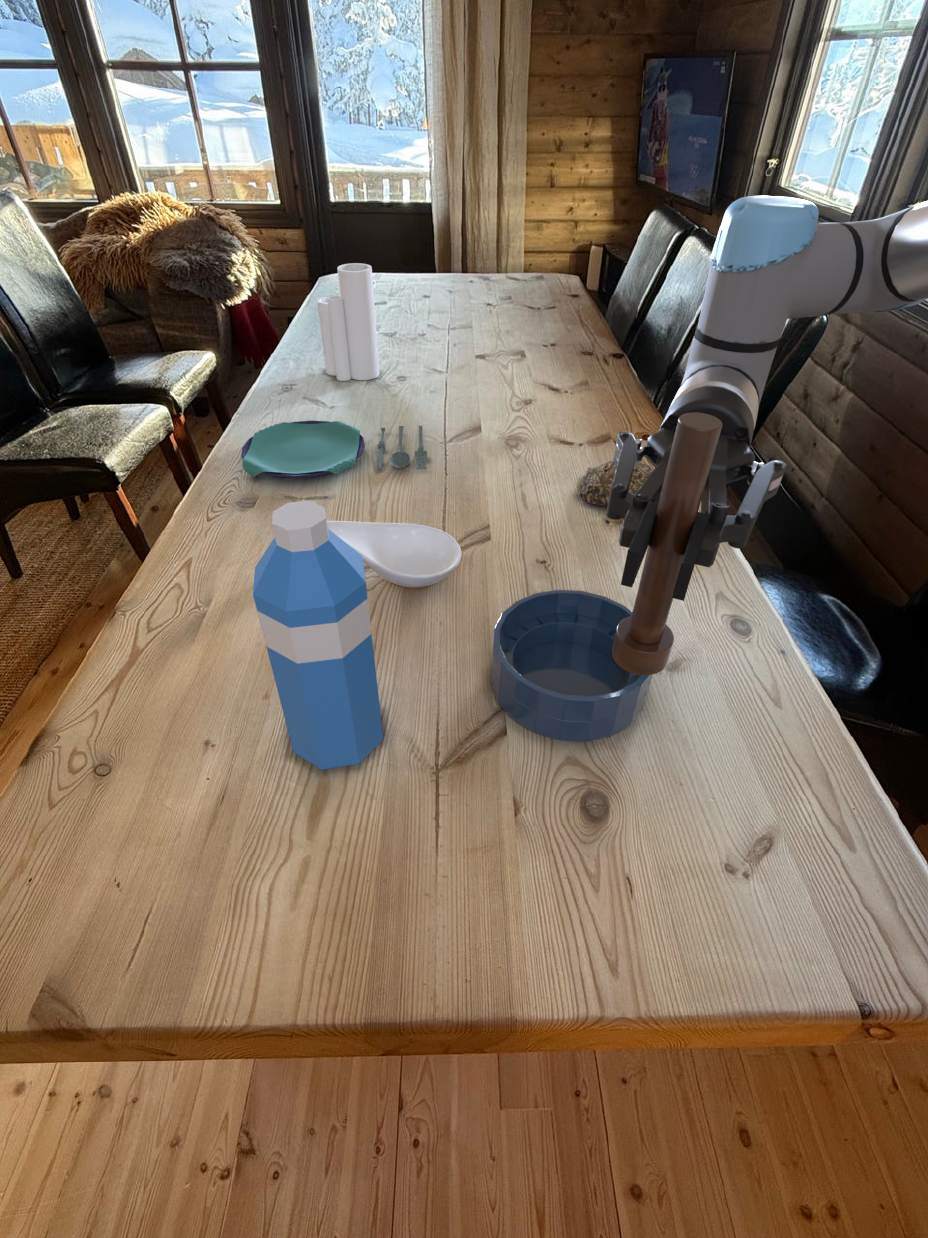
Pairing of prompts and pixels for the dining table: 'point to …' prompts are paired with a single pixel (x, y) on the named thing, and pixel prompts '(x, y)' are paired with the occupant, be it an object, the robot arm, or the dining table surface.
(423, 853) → the dining table surface
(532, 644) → the bowl
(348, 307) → the vase
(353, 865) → the dining table surface
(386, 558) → the spoon rest
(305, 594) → the water bottle
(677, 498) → the pestle
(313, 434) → the cutlery set
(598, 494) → the bread roll
